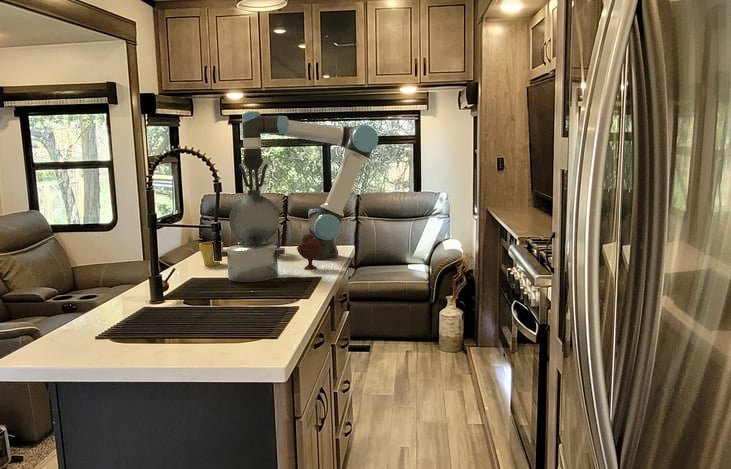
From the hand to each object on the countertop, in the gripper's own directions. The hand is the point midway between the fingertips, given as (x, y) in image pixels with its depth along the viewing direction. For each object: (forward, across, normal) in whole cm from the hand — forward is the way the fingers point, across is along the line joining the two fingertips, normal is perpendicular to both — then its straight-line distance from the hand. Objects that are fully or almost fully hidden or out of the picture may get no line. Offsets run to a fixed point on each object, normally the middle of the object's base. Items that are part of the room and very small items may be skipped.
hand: (255, 202), depth 267 cm
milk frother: (+29, +1, -29) cm, 41 cm away
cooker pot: (+28, -1, +20) cm, 35 cm away
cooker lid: (+6, 0, +7) cm, 9 cm away
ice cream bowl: (+28, -24, +9) cm, 38 cm away
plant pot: (+29, +22, -9) cm, 37 cm away
